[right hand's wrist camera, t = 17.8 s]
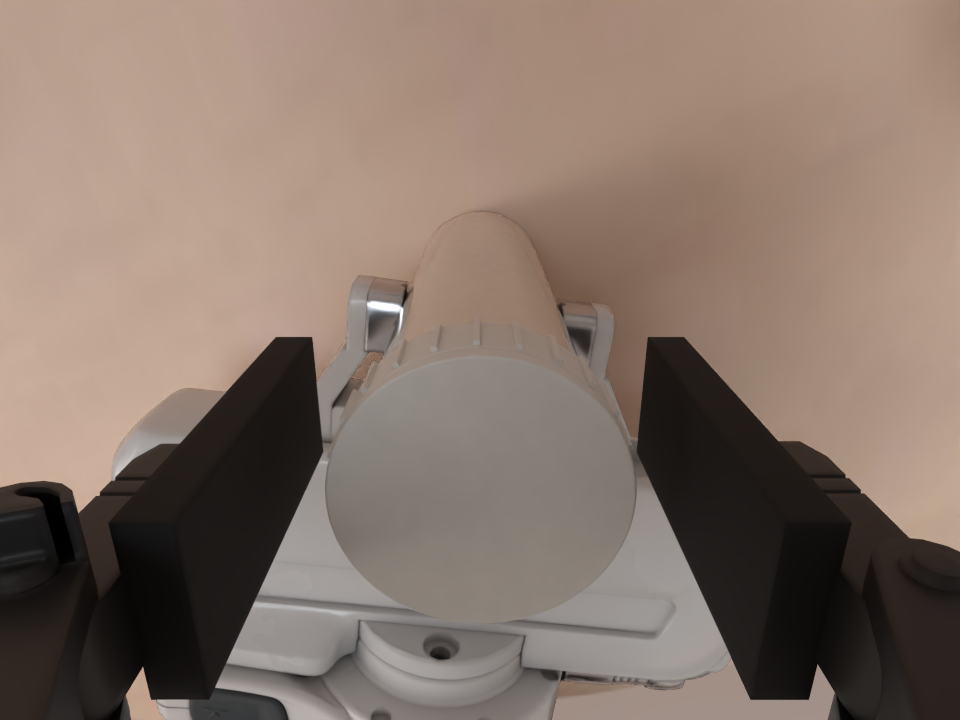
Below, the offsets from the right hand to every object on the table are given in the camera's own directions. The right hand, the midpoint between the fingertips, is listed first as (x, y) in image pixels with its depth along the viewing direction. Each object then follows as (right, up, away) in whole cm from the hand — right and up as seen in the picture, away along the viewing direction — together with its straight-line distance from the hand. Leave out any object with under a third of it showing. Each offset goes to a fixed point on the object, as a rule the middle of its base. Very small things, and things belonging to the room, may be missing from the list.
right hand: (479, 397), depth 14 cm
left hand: (0, +3, +4) cm, 5 cm away
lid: (0, -1, -3) cm, 4 cm away
